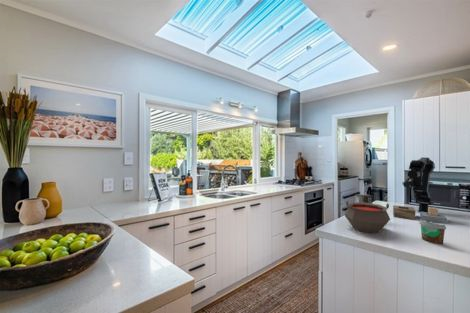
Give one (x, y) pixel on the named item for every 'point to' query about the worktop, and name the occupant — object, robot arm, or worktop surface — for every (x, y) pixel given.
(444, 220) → the frame
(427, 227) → the food container
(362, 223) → the faceted brown planter
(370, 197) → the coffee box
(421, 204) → the robot arm
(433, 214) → the plug
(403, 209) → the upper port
